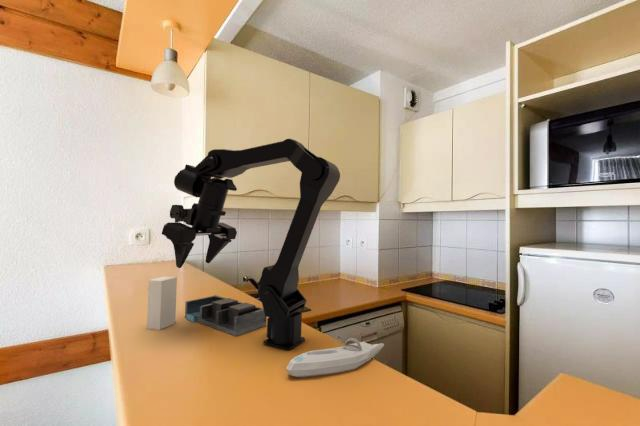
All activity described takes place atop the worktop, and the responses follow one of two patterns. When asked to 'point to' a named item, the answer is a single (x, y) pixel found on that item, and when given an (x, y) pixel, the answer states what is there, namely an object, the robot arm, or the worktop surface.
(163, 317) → the white rectangular block
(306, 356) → the white toy boat
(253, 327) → the rack
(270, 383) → the worktop surface
